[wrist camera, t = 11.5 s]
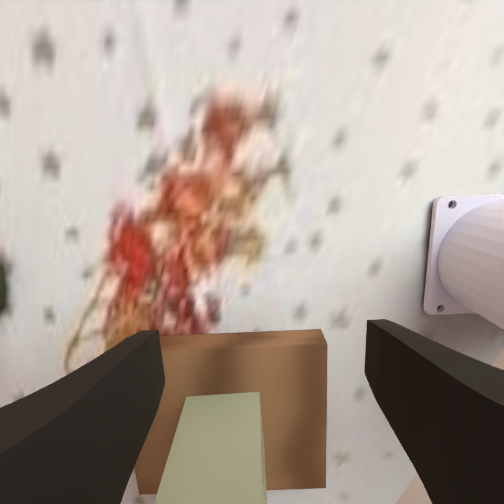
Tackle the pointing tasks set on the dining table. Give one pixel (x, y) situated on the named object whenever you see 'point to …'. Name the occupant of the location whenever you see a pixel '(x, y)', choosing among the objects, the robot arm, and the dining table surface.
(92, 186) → the dining table surface
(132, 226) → the dining table surface
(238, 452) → the sage block
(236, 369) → the walnut base
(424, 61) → the dining table surface
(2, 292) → the beige green trophy cup
